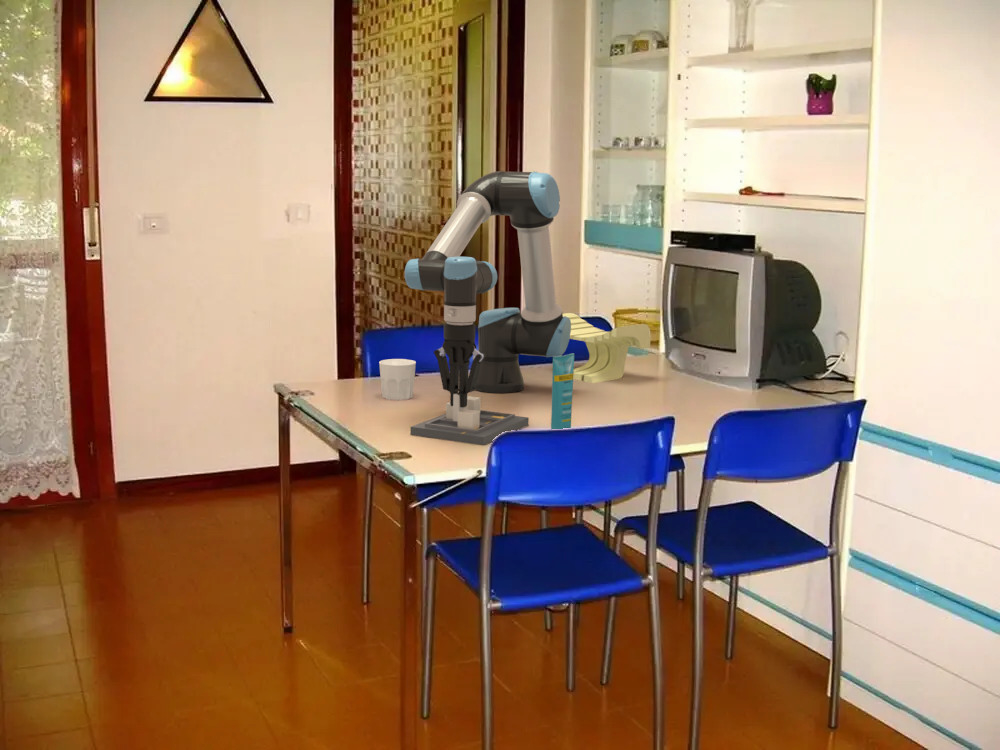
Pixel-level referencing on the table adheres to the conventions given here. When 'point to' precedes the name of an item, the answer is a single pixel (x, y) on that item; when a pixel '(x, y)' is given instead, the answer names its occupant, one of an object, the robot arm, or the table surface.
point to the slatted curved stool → (606, 348)
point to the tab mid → (450, 410)
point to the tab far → (473, 403)
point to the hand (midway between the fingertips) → (458, 419)
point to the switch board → (483, 435)
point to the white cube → (468, 419)
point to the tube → (562, 391)
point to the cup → (397, 378)
